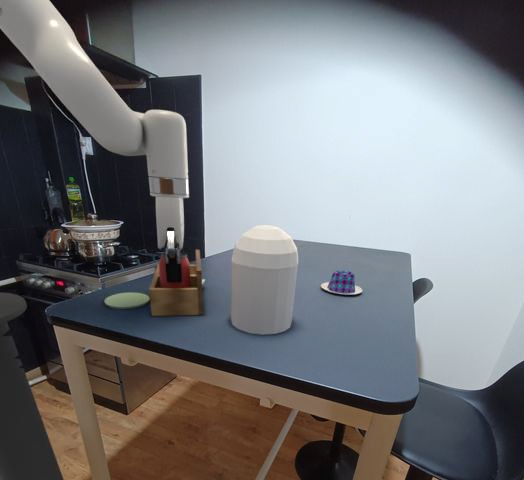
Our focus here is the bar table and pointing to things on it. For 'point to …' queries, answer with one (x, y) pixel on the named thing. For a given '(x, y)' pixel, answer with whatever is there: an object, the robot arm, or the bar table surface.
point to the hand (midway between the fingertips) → (175, 276)
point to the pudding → (342, 283)
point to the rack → (178, 294)
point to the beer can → (185, 272)
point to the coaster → (126, 300)
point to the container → (263, 280)
